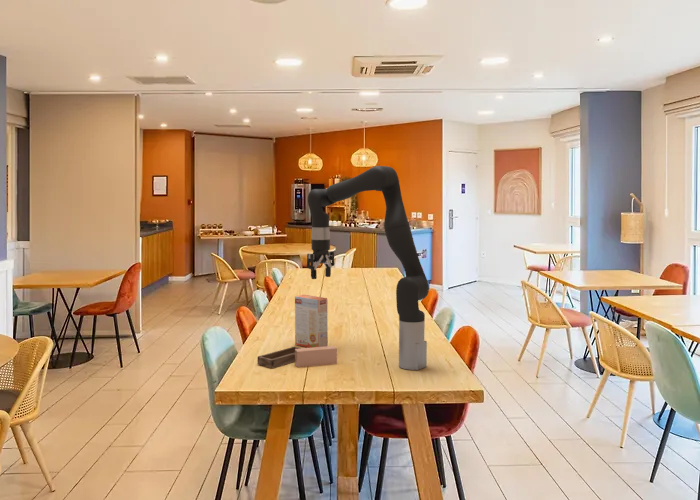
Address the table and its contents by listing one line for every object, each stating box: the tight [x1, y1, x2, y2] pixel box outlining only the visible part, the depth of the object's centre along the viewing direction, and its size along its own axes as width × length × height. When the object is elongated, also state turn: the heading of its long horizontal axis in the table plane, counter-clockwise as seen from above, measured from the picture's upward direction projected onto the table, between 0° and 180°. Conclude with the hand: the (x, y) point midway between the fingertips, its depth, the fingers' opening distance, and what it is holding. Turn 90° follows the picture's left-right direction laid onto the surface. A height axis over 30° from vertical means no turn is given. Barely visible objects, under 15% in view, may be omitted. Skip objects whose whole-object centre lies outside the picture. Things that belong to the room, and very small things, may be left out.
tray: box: [257, 345, 301, 369], centre depth 219 cm, size 8×19×3 cm, turn 140°
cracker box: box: [294, 294, 329, 348], centre depth 239 cm, size 14×6×21 cm, turn 47°
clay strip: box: [294, 345, 338, 368], centre depth 215 cm, size 15×4×6 cm, turn 107°
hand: (321, 277), depth 237 cm, fingers open, 8 cm apart
